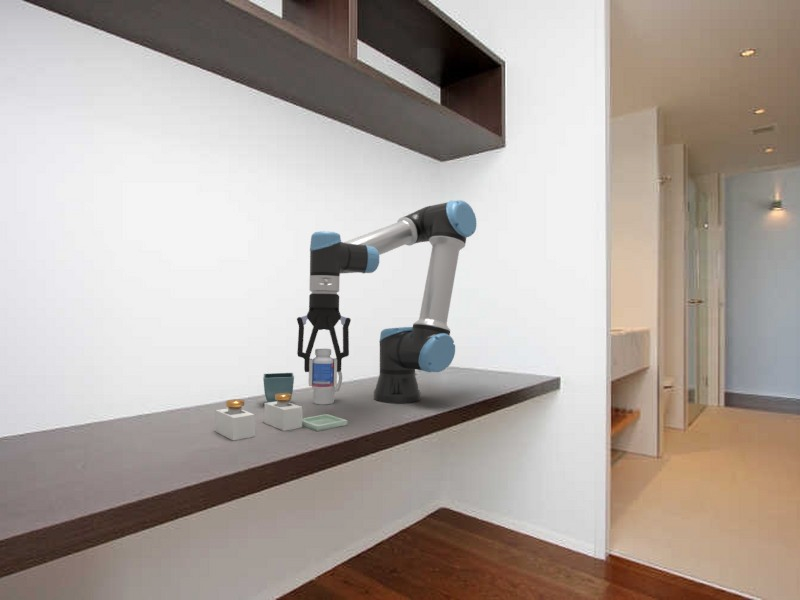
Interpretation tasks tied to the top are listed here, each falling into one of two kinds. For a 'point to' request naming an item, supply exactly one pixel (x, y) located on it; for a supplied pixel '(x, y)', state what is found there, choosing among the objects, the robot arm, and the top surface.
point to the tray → (323, 422)
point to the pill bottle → (322, 369)
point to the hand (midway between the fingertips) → (322, 384)
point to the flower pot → (277, 385)
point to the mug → (327, 393)
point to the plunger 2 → (283, 399)
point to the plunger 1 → (235, 406)
